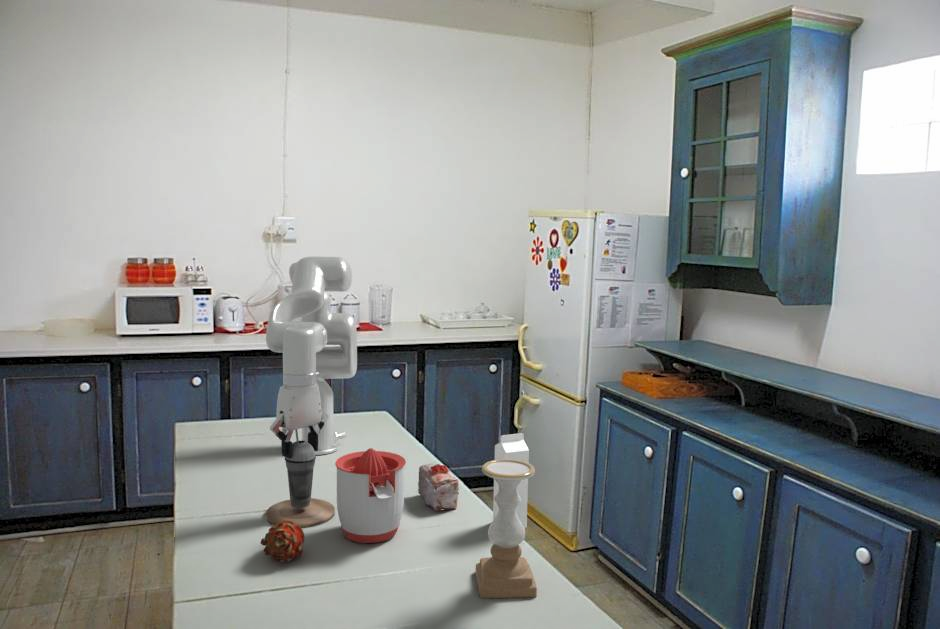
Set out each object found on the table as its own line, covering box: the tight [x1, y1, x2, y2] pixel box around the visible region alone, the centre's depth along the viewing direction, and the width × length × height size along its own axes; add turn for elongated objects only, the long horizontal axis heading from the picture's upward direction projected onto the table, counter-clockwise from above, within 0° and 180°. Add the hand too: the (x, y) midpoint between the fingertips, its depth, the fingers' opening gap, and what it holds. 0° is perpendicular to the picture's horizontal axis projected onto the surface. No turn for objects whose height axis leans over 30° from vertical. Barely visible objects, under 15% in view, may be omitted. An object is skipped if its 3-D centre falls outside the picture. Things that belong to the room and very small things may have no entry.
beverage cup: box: [284, 429, 317, 508], centre depth 178 cm, size 7×7×20 cm
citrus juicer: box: [334, 447, 407, 544], centre depth 167 cm, size 16×17×20 cm
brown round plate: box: [265, 497, 336, 529], centre depth 179 cm, size 16×16×1 cm
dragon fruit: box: [260, 520, 305, 563], centre depth 156 cm, size 8×8×12 cm
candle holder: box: [474, 459, 538, 599], centre depth 146 cm, size 11×11×24 cm
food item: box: [417, 463, 460, 511], centre depth 188 cm, size 14×8×10 cm, turn 25°
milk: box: [492, 432, 530, 529], centre depth 174 cm, size 6×6×22 cm
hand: (300, 452), depth 177 cm, fingers closed on beverage cup, 6 cm apart
